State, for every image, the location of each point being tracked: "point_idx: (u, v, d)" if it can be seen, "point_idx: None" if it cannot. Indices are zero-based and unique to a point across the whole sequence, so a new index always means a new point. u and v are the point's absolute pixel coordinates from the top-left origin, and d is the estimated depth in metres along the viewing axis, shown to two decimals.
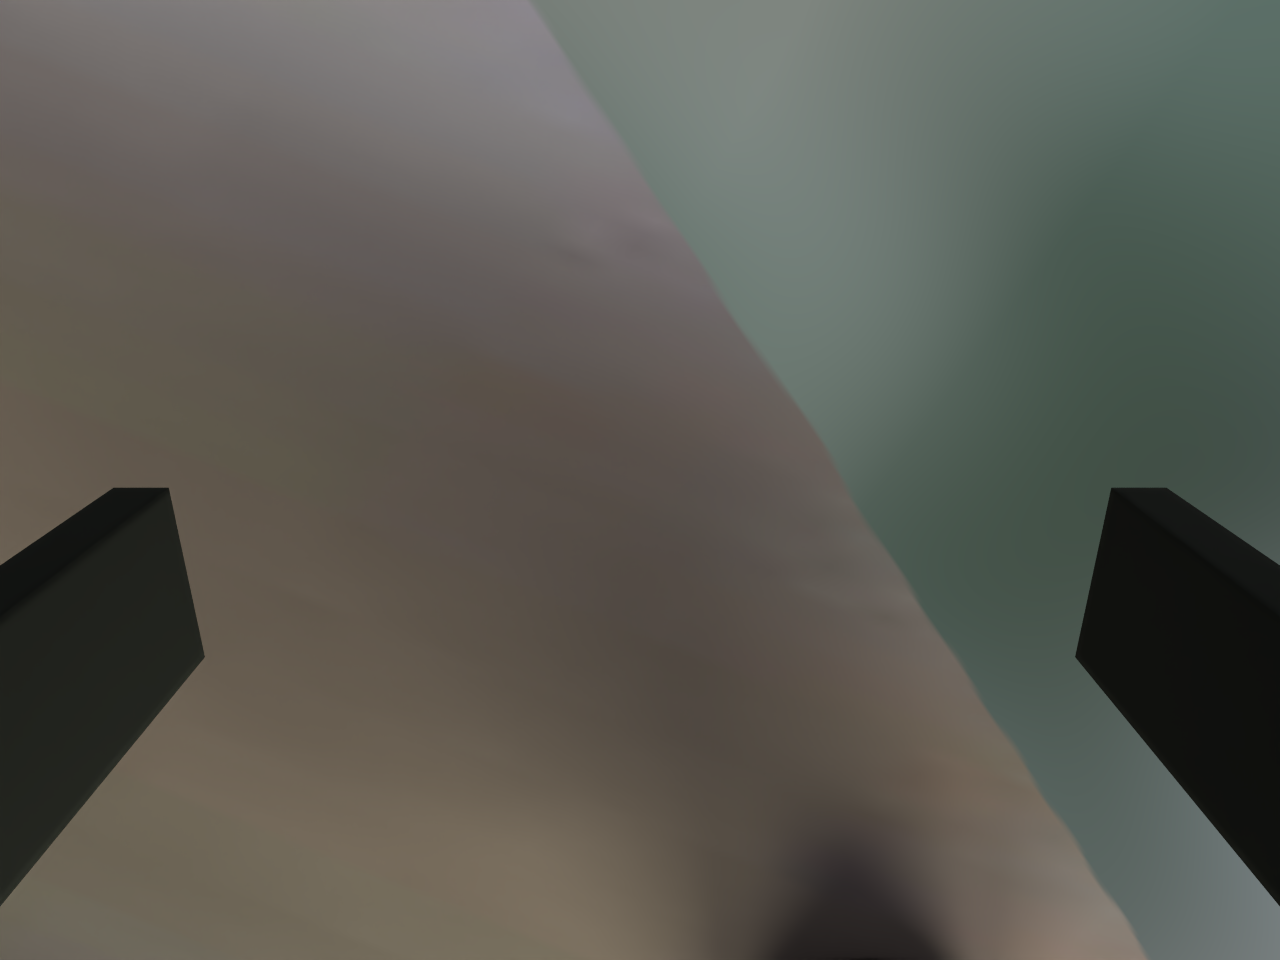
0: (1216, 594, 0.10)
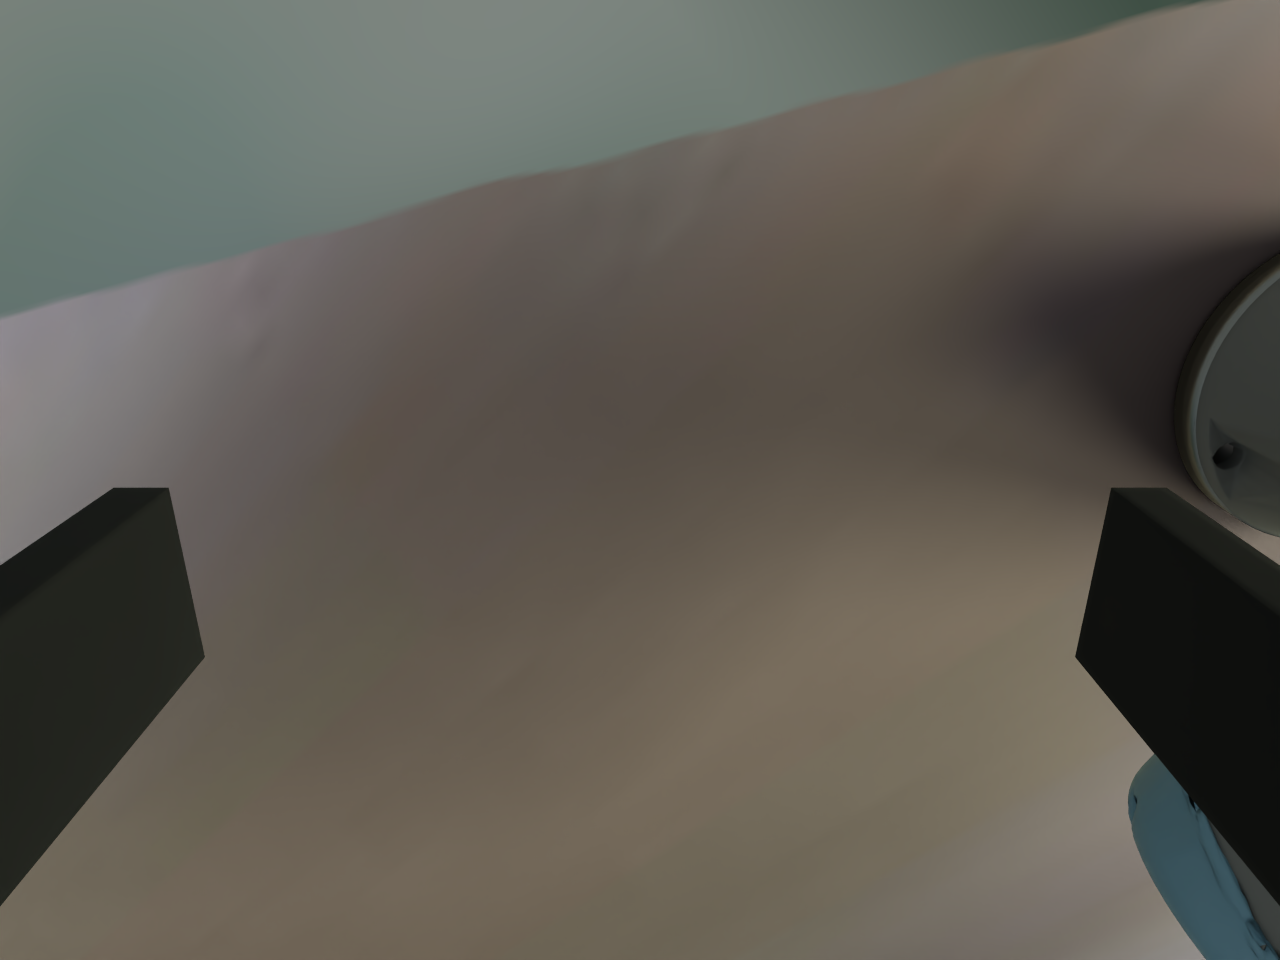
0: (1216, 594, 0.10)
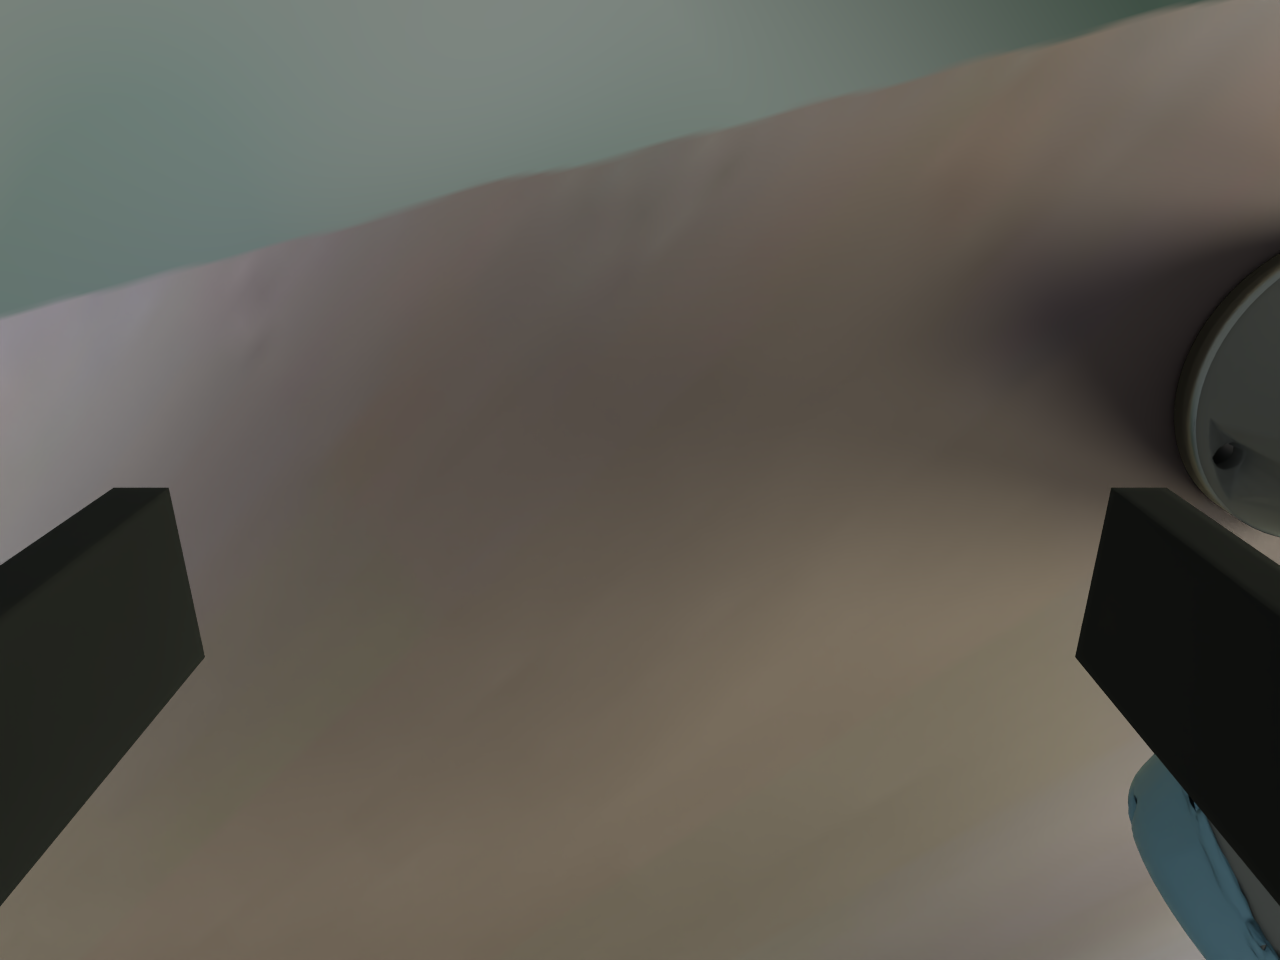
0: (1216, 594, 0.10)
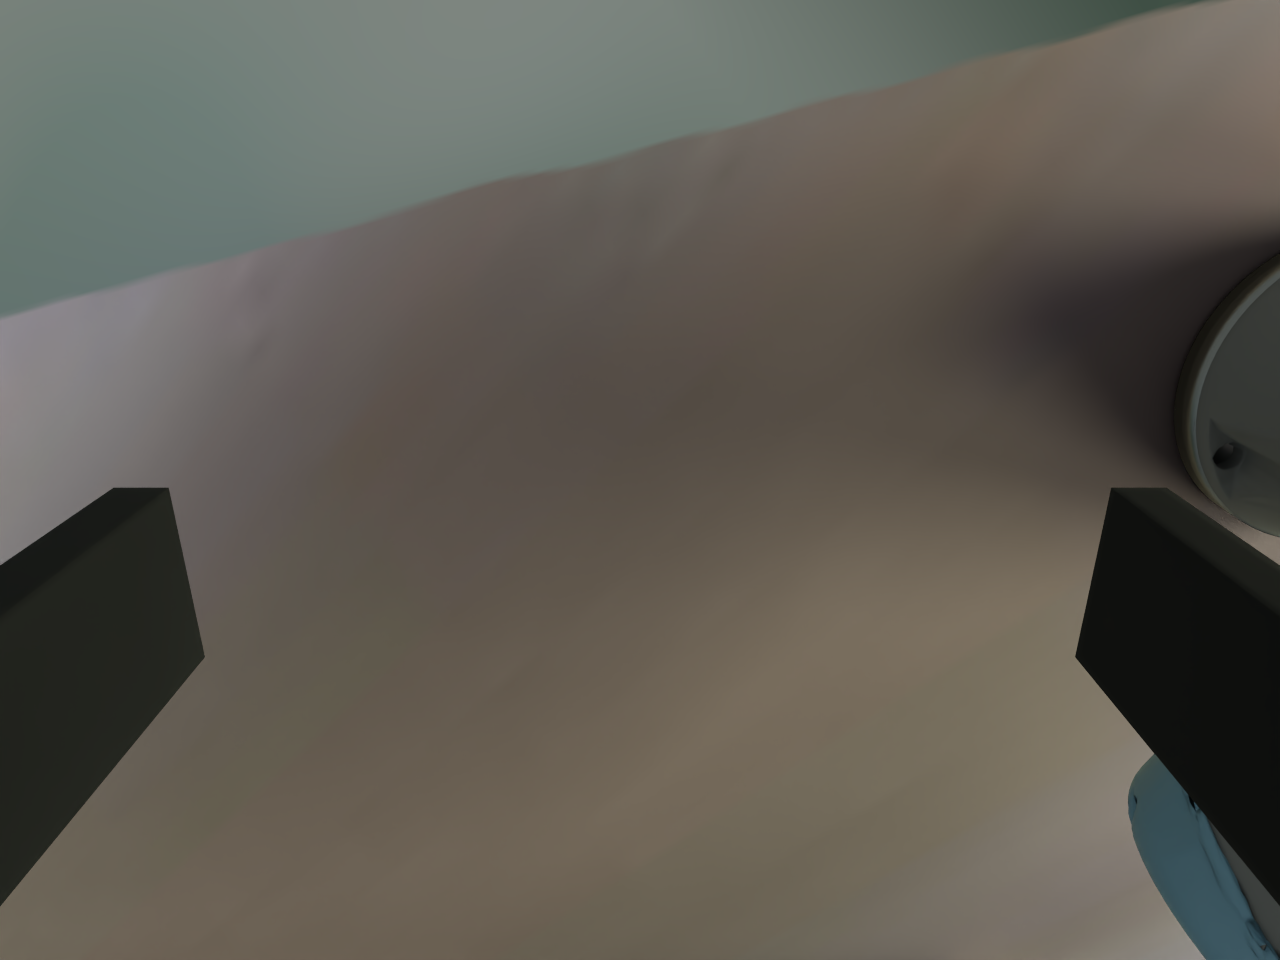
0: (1216, 594, 0.10)
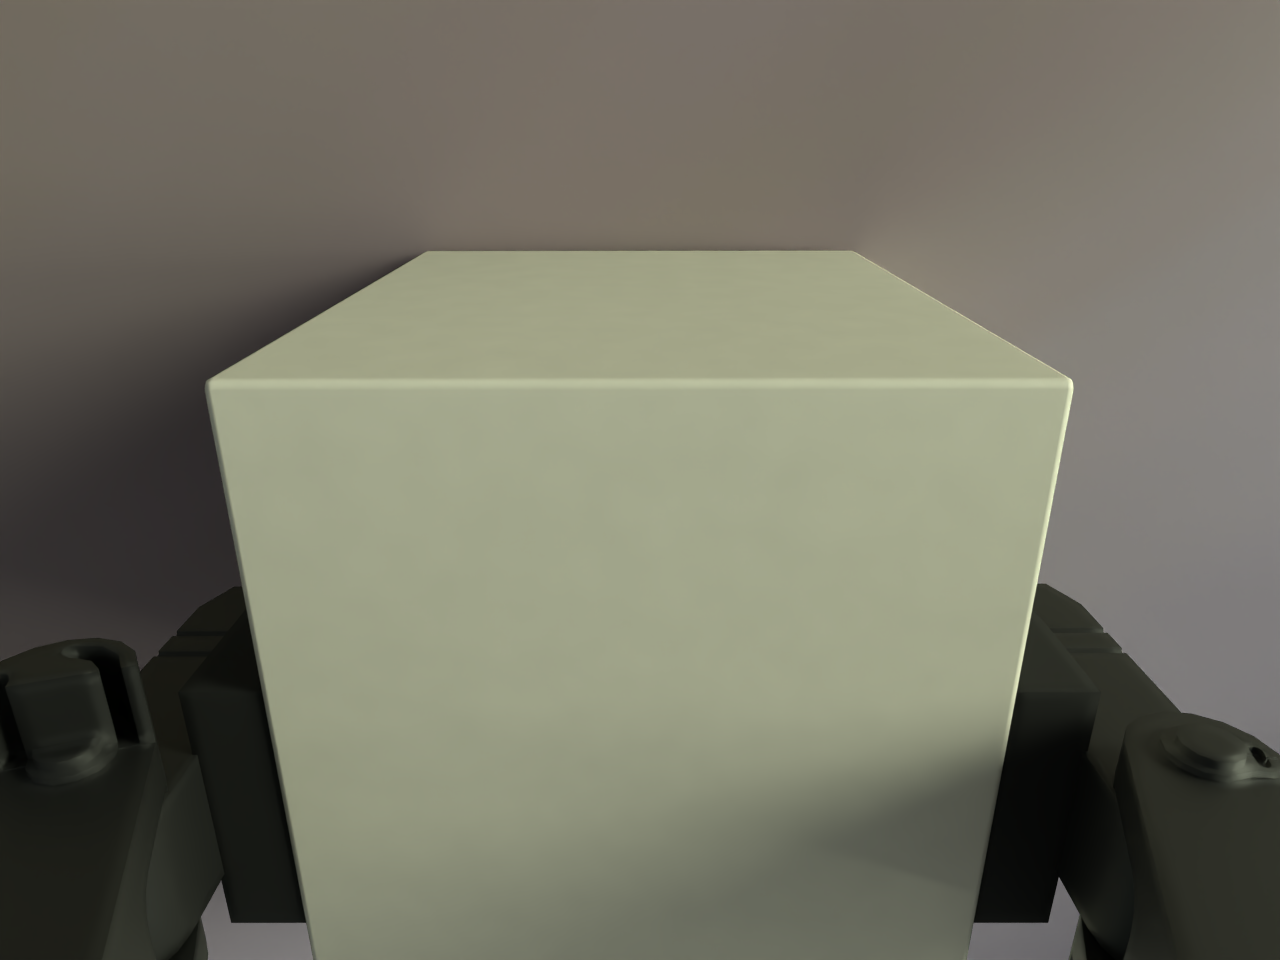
0: None
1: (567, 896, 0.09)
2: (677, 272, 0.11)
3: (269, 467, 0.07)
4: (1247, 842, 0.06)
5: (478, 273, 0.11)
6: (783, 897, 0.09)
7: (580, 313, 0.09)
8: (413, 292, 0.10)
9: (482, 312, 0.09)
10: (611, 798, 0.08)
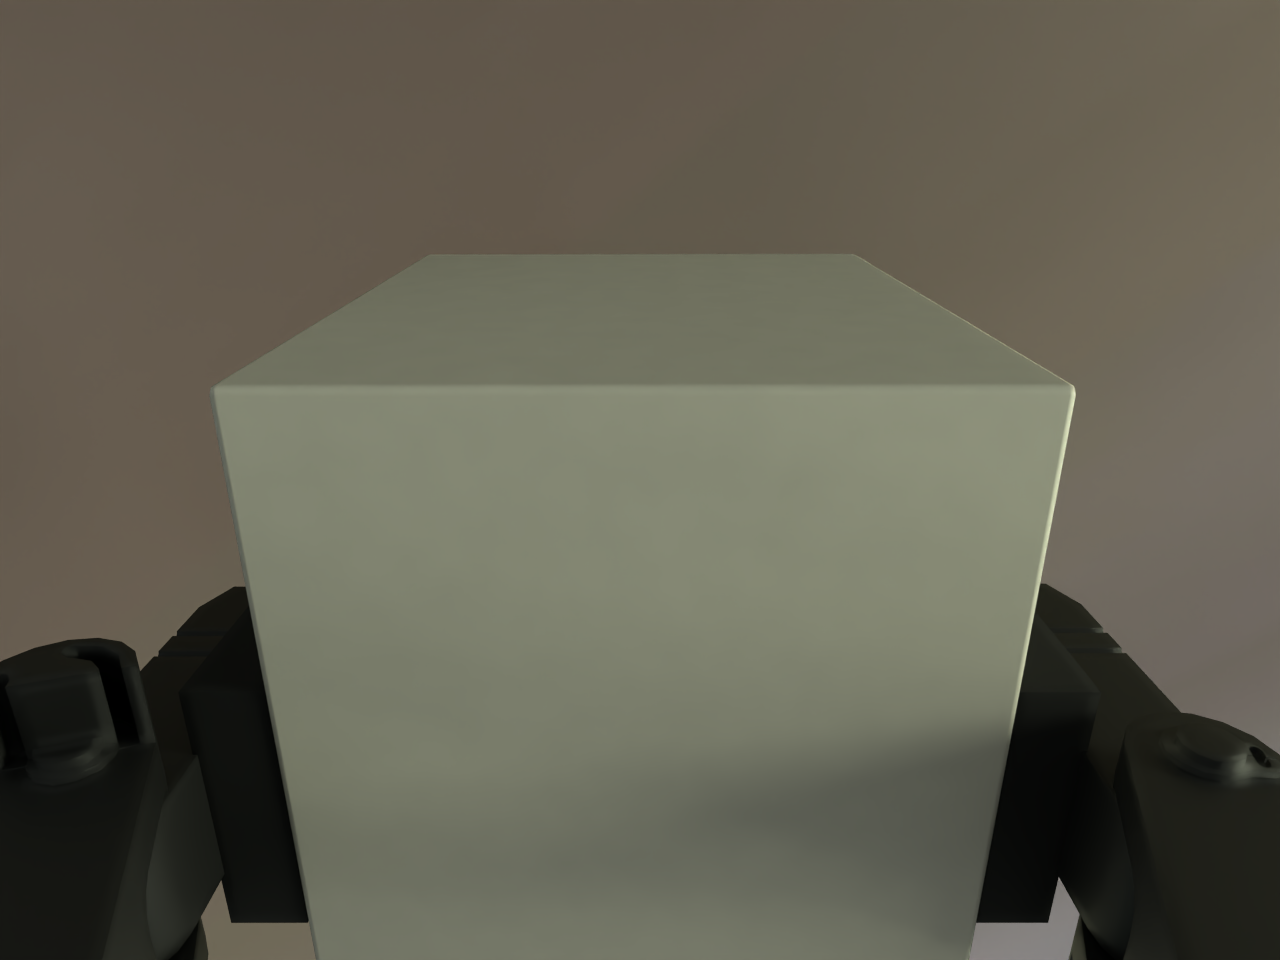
0: None
1: (571, 901, 0.09)
2: (679, 276, 0.11)
3: (272, 473, 0.07)
4: (1248, 842, 0.06)
5: (480, 277, 0.11)
6: (785, 901, 0.09)
7: (583, 318, 0.09)
8: (416, 296, 0.10)
9: (485, 317, 0.09)
10: (613, 803, 0.08)
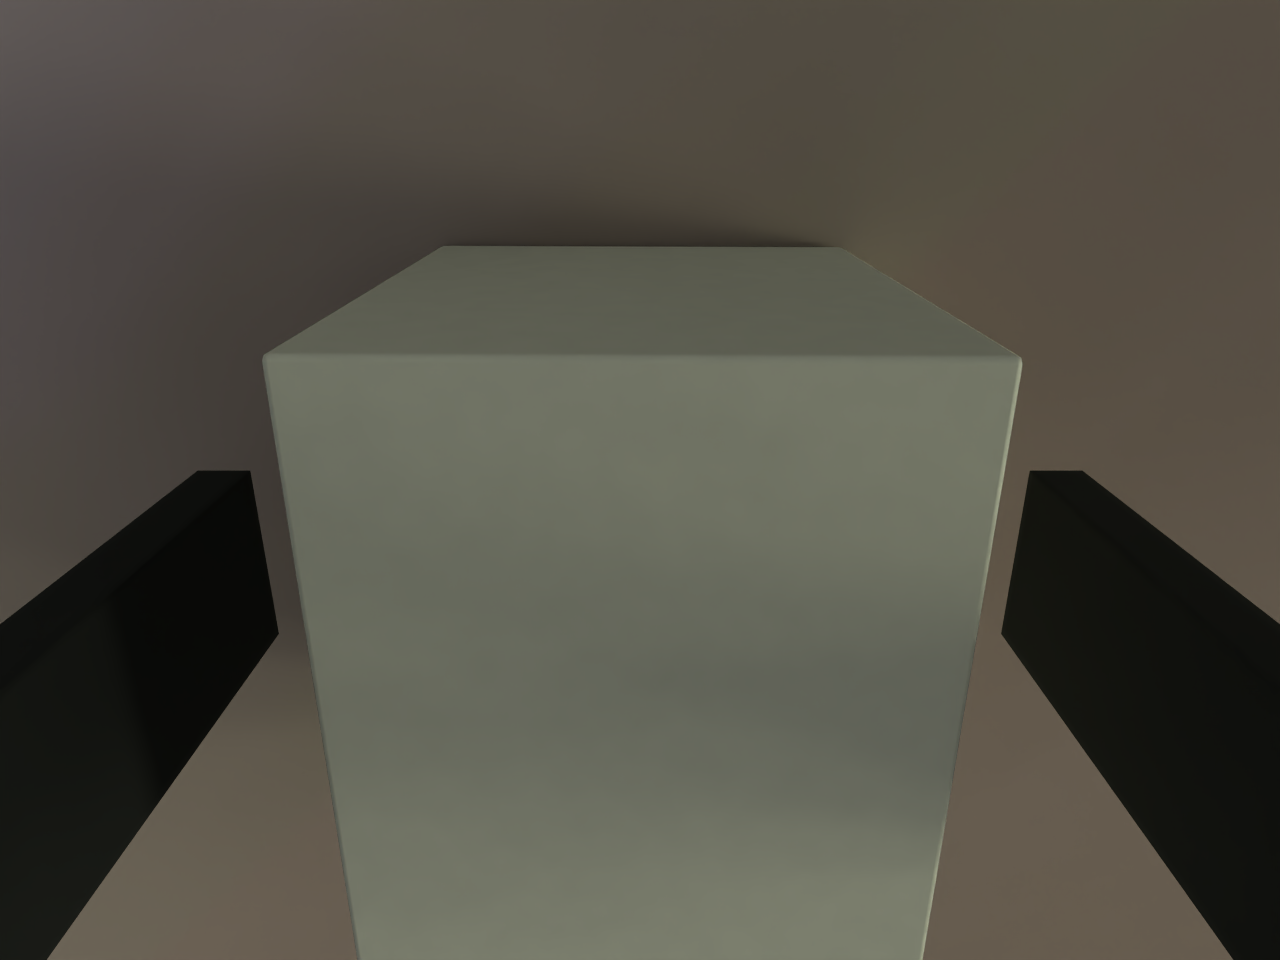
0: (1112, 567, 0.10)
1: (575, 825, 0.09)
2: (676, 266, 0.12)
3: (317, 432, 0.08)
4: None
5: (493, 266, 0.12)
6: (768, 825, 0.09)
7: (588, 301, 0.10)
8: (435, 282, 0.11)
9: (500, 299, 0.10)
10: (615, 734, 0.09)
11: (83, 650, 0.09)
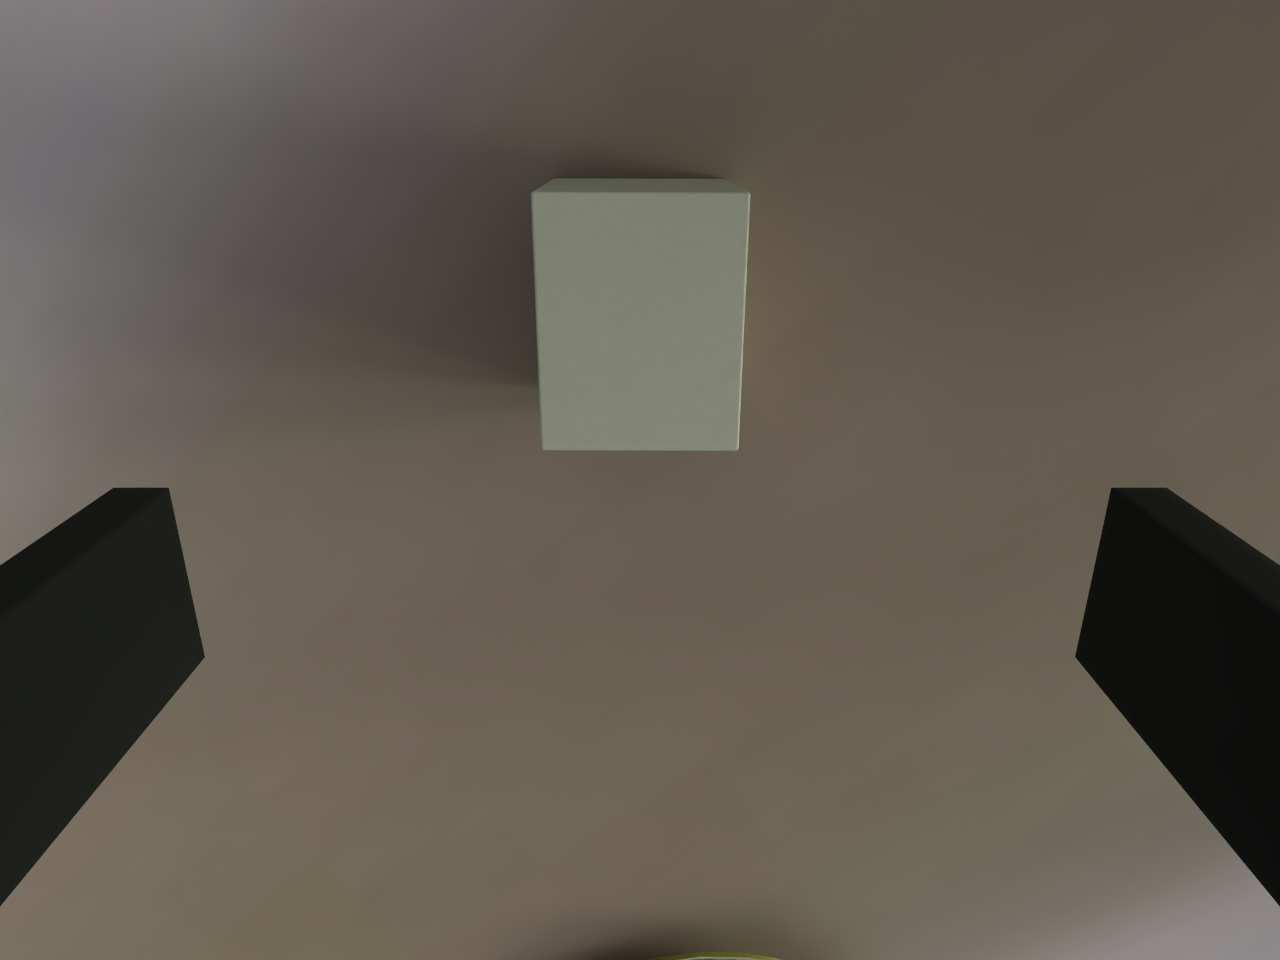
0: (1216, 594, 0.10)
1: (618, 360, 0.28)
2: (654, 181, 0.31)
3: (545, 215, 0.27)
4: None
5: (581, 181, 0.31)
6: (683, 360, 0.28)
7: (622, 186, 0.29)
8: (564, 184, 0.30)
9: (591, 186, 0.29)
10: (632, 322, 0.28)
11: None
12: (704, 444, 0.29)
